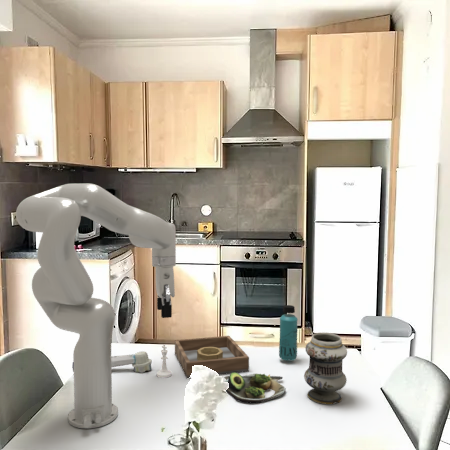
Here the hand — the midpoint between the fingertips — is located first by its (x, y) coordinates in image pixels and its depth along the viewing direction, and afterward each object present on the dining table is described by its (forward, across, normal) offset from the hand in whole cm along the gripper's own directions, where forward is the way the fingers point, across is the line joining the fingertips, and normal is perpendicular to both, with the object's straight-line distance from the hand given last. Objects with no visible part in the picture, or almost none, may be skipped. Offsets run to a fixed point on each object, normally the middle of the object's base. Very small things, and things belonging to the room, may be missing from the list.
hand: (164, 313), depth 141 cm
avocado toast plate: (+21, -18, -24) cm, 37 cm away
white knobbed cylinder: (+21, +8, +16) cm, 28 cm away
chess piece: (+21, 0, 0) cm, 21 cm away
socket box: (+20, +6, -17) cm, 27 cm away
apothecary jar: (+21, -28, -43) cm, 55 cm away
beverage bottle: (+21, 0, -44) cm, 49 cm away
